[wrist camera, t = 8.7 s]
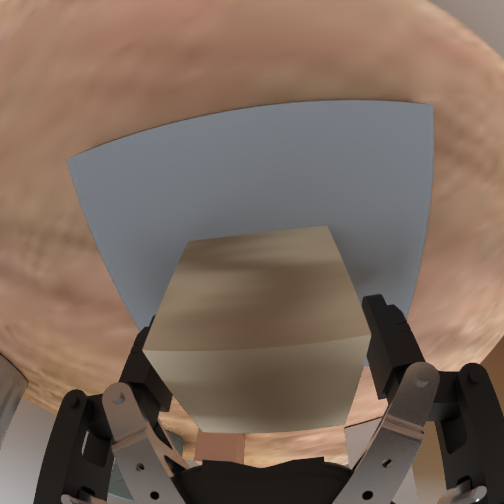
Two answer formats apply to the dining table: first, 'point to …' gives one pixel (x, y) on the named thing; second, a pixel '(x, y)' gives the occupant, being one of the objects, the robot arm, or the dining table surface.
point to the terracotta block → (219, 447)
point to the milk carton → (356, 444)
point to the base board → (264, 190)
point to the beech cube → (261, 333)
